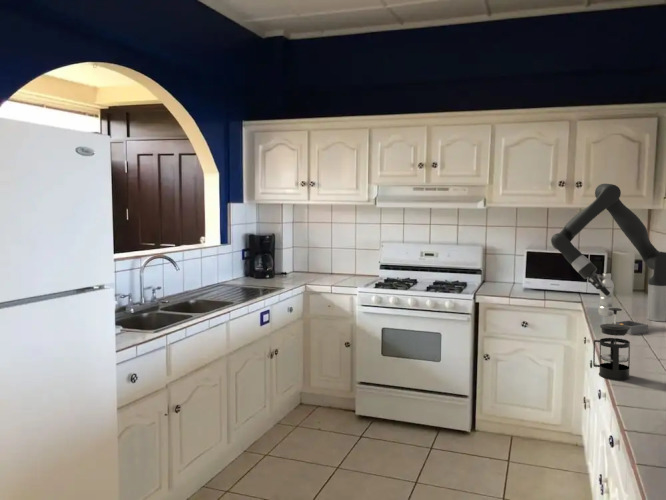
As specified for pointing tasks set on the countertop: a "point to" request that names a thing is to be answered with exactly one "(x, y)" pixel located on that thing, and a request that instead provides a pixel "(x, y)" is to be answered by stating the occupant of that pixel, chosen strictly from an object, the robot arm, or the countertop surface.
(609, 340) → the french press
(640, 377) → the countertop surface
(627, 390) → the countertop surface
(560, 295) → the countertop surface
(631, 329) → the socket collar
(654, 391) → the countertop surface
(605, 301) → the silver metal bottle
